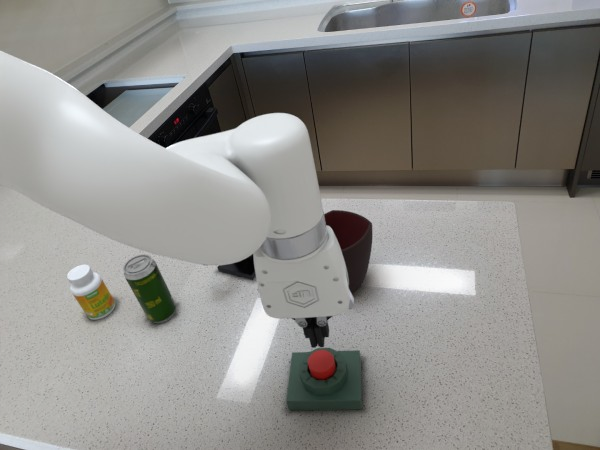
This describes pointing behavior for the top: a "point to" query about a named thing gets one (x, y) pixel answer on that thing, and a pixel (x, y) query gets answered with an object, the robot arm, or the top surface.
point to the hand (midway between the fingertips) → (318, 338)
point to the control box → (325, 383)
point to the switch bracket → (240, 268)
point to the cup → (352, 243)
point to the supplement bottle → (90, 292)
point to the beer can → (149, 288)
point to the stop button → (321, 364)
